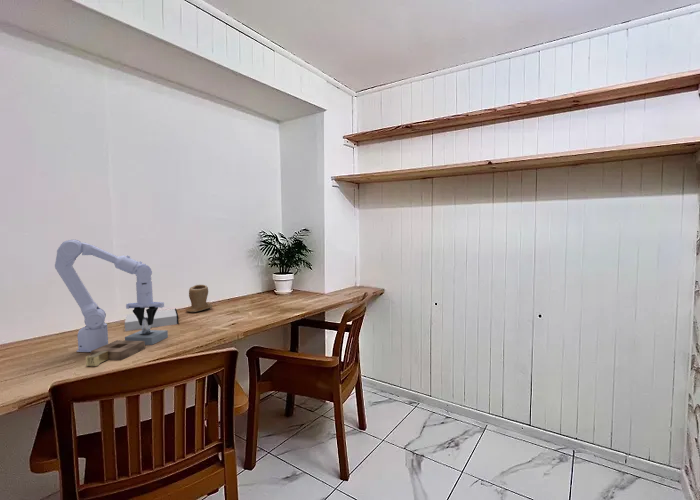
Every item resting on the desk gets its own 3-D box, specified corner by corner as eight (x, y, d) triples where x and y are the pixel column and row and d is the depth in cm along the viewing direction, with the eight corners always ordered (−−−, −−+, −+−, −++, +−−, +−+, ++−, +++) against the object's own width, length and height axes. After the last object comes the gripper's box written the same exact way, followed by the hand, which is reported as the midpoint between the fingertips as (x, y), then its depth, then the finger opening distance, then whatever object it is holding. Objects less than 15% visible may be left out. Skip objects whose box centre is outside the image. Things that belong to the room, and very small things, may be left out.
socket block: (91, 359, 125) (90, 351, 125) (117, 347, 137) (117, 340, 136) (121, 360, 123) (120, 351, 123) (145, 348, 135) (144, 340, 135)
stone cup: (195, 314, 189) (194, 287, 188) (182, 312, 194) (181, 286, 194) (218, 308, 202) (217, 283, 201) (205, 306, 208) (204, 282, 207)
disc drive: (178, 324, 170) (178, 315, 170) (125, 332, 159) (124, 321, 159) (176, 317, 185) (176, 308, 185) (127, 323, 174) (126, 314, 174)
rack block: (125, 344, 141) (124, 337, 140) (142, 336, 150) (142, 329, 150) (152, 344, 139) (151, 337, 139) (167, 337, 149) (167, 330, 149)
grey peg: (140, 337, 142) (140, 318, 142) (144, 335, 145) (144, 317, 145) (148, 337, 143) (147, 318, 143) (151, 335, 146) (151, 316, 146)
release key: (86, 365, 118) (85, 356, 118) (100, 359, 124) (100, 350, 124) (96, 366, 118) (95, 357, 117) (110, 359, 123) (110, 350, 123)
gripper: (120, 295, 139) (122, 327, 140) (157, 294, 140) (159, 326, 141) (130, 292, 146) (132, 323, 147) (165, 291, 147) (167, 322, 148)
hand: (146, 324), depth 144 cm, fingers closed on grey peg, 3 cm apart
